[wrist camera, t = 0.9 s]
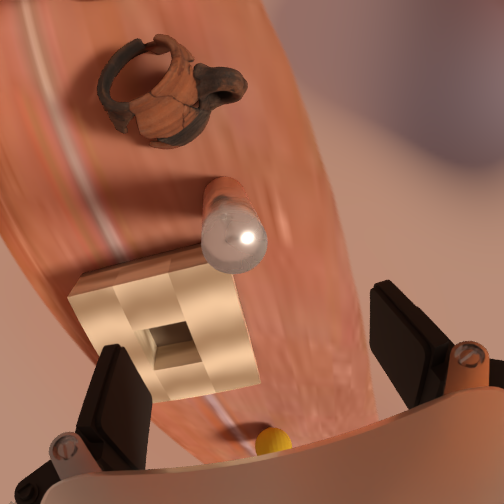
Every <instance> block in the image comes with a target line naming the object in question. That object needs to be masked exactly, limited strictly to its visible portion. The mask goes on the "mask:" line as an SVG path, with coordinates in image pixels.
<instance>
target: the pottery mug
mask: <svg viewBox="0 0 504 504" xmlns="http://www.w3.org/2000/svg"><path fill="white" fill-rule="evenodd" d="M153 40H154V41H152V42H149V43H146V44H143V43H142V41H141V39H138V38H137V39H134V40H133V41H131V42H129V43H127V44H126V45H125V46H123V47H122V48H120V49H119V50H118V51H117V52H116V53H115V54H114V55H113V56H112V57H111V59H110V60H109V61H108V64H106V66H105V67H104V69H103V70H102V73H101V75H100V78H99V80H98V86H97V95H98V96H99V99H100V101H101V103H102V105H103V106H104V110H105V111H108V115H109V118H110V120H111V121H112V122H113V124H114V126H115V128H116V130H118V131H120V132H122V133H127V131H128V129H127V125H128V123H129V122H130V120H131V119H132V118H133V117H134V116H136V122H137V124H138V129H139V132H140V135H142V136H144V137H145V138H148V139H152V138H157V139H158V141H150V143H149V145H150V146H151V147H154V148H160V149H173V148H177V147H180V146H183V145H186V144H187V143H189V142H191V141H192V140H194V139H195V138H196V137H197V136H198V135H199V134H200V133H201V132H202V131H203V130H204V128H205V126H206V125H207V123H208V121H209V118H210V114H211V110H214V109H215V108H216V107H218V106H221V105H224V104H229V103H234V102H237V101H239V100H240V99H241V98H242V97H243V95H244V93H245V92H246V90H247V88H248V83H247V81H246V80H245V79H244V78H243V76H242V75H241V73H240V72H239V71H237V70H235V69H232V68H227V67H208V66H207V65H205V64H202V63H198V64H196V65H195V66H194V70H193V69H192V67H191V65H190V64H189V62H193V61H194V57H193V56H192V55H191V53H190V52H189V51H188V50H187V49H186V48H185V47H184V46H182V45H181V44H179V43H178V42H177V41H176V40H175V39H173V38H172V37H170V36H168V35H163V34H157V35H155V37H154V39H153ZM147 51H151V52H153V53H156V54H159V55H160V54H164V53H167V52H169V51H170V52H171V57H172V60H171V64H170V67H169V69H168V71H167V73H166V74H165V76H164V77H163V78H162V80H161V81H160V82H159V83H158V84H157V85H156V86H155V87H154V88H153V89H152V90H151V91H150V92H148V93H146V94H145V95H143V96H141V97H139V98H137V99H135V100H132V101H130V102H116V101H114V100H113V99H112V98H111V97H110V88H111V85H112V82H113V79H114V77H116V76H117V74H118V73H119V72H120V70H121V69H122V68H123V67H124V66H125V65H126V64H127V63H128V62H129V61H130V60H131V59H133V58H134V57H136V56H138V55H141V54H143V53H145V52H147ZM198 99H199V107H198V108H195V107H192V105H193V104H195V103H196V102H197V100H198Z"/></svg>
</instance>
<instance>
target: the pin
mask: <svg viewBox="0 0 504 504" xmlns="http://www.w3.org/2000/svg"><path fill="white" fill-rule="evenodd" d="M201 248H202V253H203V255H204V257H205V259H206V261H207V262H208V263H209V264H210V265H211V266H212V267H213V268H214V269H216V270H218V271H220V272H223V273H227V274H240V273H244V272H247V271H249V270H251V269H253V268H254V267H255V266H257V265H258V264H259V263H260V261H261V260H262V259H263V257H264V255H265V253H266V250H267V235H266V232H265V230H264V228H263V226H262V224H261V222H260V220H259V218H258V216H257V214H256V212H255V210H254V208H253V206H252V204H251V202H250V200H249V198H248V196H247V194H246V192H245V190H244V188H243V187H242V185H241V184H240V183H239V182H238V181H237V180H235V179H234V178H231V177H218V178H216V179H214V180H212V181H211V182H210V183H209V184H208V185H207V186H206V188H205V191H204V194H203V213H202V238H201Z"/></svg>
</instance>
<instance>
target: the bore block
mask: <svg viewBox="0 0 504 504" xmlns="http://www.w3.org/2000/svg"><path fill="white" fill-rule="evenodd" d="M67 298H68V300H69V302H70V304H71V306H72V308H73V310H74V312H75V314H76V316H77V318H78V320H79V322H80V323H81V325H82V327H83V329H84V331H85V333H86V334H87V336H88V338H89V340H90V341H91V343H92V345H93V347H94V348H95V350H96V352H97V353H98V355H99V357H100V354H101V352H102V349H103V347H104V346H105V345H111V344H119V345H120V346H121V347H122V346H123V347H125V349H126V350H127V352H128V354H129V356H130V358H131V360H132V361H133V363H134V365H135V367H136V369H137V371H138V372H139V374H140V376H141V378H142V379H143V381H144V383H145V385H146V386H147V388H148V390H149V391H150V393H151V395H152V401H153V402H152V403H158V402H165V401H172V400H179V399H185V398H191V397H197V396H203V395H208V394H213V393H219V392H224V391H229V390H234V389H238V388H243V387H247V386H252V385H256V384H261V381H260V376H259V372H258V367H257V362H256V358H255V354H254V350H253V346H252V343H251V339H250V335H249V332H248V328H247V324H246V321H245V317H244V313H243V310H242V306H241V302H240V298H239V295H238V291H237V287H236V283H235V280H234V276H233V274H227V273H223V272H220V271H218V270H216V269H214V268H213V267H212V266H211V265H210V264H209V263H208V262H207V261H206V259H205V257H204V255H203V253H202V248H201V243H200V244H196V245H192V246H188V247H184V248H180V249H176V250H172V251H168V252H164V253H160V254H156V255H152V256H148V257H144V258H140V259H136V260H133V261H129V262H125V263H121V264H117V265H113V266H109V267H106V268H102V269H98V270H94V271H91V272H87V273H83V274H82V275H81V277H80V278H79V280H78V281H77V283H76V284H75V286H74V287H73V289H72V290H71V292H70V293H69V295H68V297H67Z"/></svg>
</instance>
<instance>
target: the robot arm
mask: <svg viewBox="0 0 504 504" xmlns="http://www.w3.org/2000/svg"><path fill="white" fill-rule="evenodd" d="M369 343H370V348H371V351H372V352H373V354H374V355H375V357H376V359H377V360H378V362H379V363H380V365H381V366H382V368H383V369H384V371H385V372H386V374H387V376H388V377H389V379H390V380H391V382H392V383H393V385H394V387H395V388H396V390H397V392H398V393H399V395H400V396H401V398H402V400H403V401H404V403H405V404H406V406H407V408H408V409H409V410H407V411H404V412H402V413H400V414H397V415H394V416H392V417H389V418H386V419H384V420H381V421H378V422H376V423H373V424H370V425H368V426H365V427H362V428H359V429H356V430H353V431H350V432H347V433H344V434H341V435H338V436H334V437H331V438H328V439H324V440H321V441H317V442H314V443H310V444H307V445H303V446H299V447H295V448H291V449H287V450H283V451H278V452H274V453H269V454H264V455H260V456H254V457H249V458H244V459H238V460H232V461H226V462H219V463H212V464H204V465H196V466H187V467H176V468H164V469H148V470H145V464H146V453H147V444H148V434H149V427H150V418H151V410H152V402H153V401H152V395H151V393H150V391H149V390H148V388H147V386H146V385H145V383H144V381H143V379H142V378H141V376H140V374H139V372H138V371H137V369H136V367H135V365H134V363H133V361H132V360H131V358H130V356H129V354H128V352H127V350H126V349H125V347H123V346H122V347H121V346H120V345H119V344H111V345H105V346H104V347H103V349H102V352H101V354H100V357H99V360H98V362H97V365H96V368H95V371H94V374H93V376H92V379H91V382H90V385H89V388H88V391H87V394H86V397H85V400H84V403H83V406H82V409H81V412H80V415H79V418H78V422H77V425H76V431H75V433H74V432H65V433H62V434H60V435H58V436H57V437H56V438H55V439H54V440H53V441H52V443H51V445H50V447H49V455H50V458H51V460H49V461H48V462H46V463H45V464H44V465H42V466H41V467H40V468H38V469H37V470H35V471H34V472H33V473H31V474H30V475H29V476H27V477H26V478H25V479H23V480H22V481H21V482H20V483H18V485H17V487H16V489H15V500H16V502H15V503H13V502H10V504H504V361H502V360H495V359H489V353H488V351H487V349H486V348H485V347H484V346H482V345H481V344H479V343H477V342H474V341H463V342H459V343H458V344H456V345H454V344H453V343H452V342H451V340H449V338H448V337H447V336H446V335H445V334H444V333H443V332H442V331H441V330H440V329H439V328H438V327H437V326H436V325H435V324H434V323H433V321H432V320H431V319H430V318H429V317H428V316H427V315H426V314H425V313H424V312H423V311H422V310H421V309H420V308H418V307H417V306H415V305H414V304H413V303H412V302H411V301H410V300H409V299H408V298H407V297H406V296H405V295H404V294H403V293H402V292H401V291H400V290H399V289H398V288H397V287H396V286H395V285H394V284H393V283H392V282H391V281H390V280H385V281H382V282H379V283H376V284H374V288H372V289H371V290H370V342H369Z"/></svg>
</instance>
